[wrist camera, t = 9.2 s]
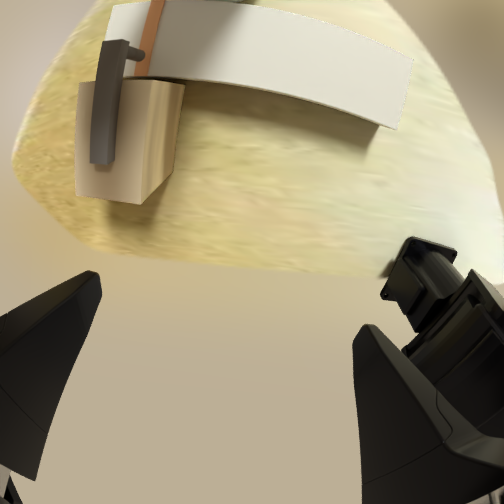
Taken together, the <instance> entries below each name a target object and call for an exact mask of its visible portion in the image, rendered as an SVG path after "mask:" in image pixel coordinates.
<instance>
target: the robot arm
mask: <svg viewBox="0 0 504 504" xmlns="http://www.w3.org/2000/svg"><path fill="white" fill-rule="evenodd" d="M412 242H413V244H411V243H412ZM456 256H457V251H456V250H455V249H454V248H450V247H447V246H444V245H441V244H437V243H434V242H431V241H427V240H424V239H421V238H417V237H413V236H412V237H410V238H409V239H408V240H407V242H406V244H405V246H404V248H403V250H402V252H401V254H400V256H399V259H398V261H397V262H396V264H395V266H394V268H393V270H392V272H391V274H390V276H389V278H388V280H387V282H386V283H385V285H384V287H383V289H382V291H381V293H380V296H381V298H382V299H383V300H388V301H397V303H398V305H399V307H400V309H401V311H402V313H403V314H404V315H406V316H407V318H408V320H409V322H410V324H411V326H412V328H413V330H414V332H415V333H419V334H418V335H417V336H416V337H415V338H414V339H413V340H412V341H411V342H410V343H409V344H408V345H406V346H404V347H403V348H402V349H401V351H400V350H399V349H398V348H397V347H396V346H395V345H394V344H393V343H392V342H391V341H390V340H389V339H388V338H387V337H386V336H385V335H384V334H383V333H382V331H380V329H378V327H377V326H375V325H370V324H364V325H363V326H362V327H361V329H360V331H359V332H358V334H357V335H356V337H355V338H354V340H353V344H352V349H353V378H354V390H355V398H356V407H357V417H358V427H359V439H360V454H361V474H362V504H504V298H503V297H502V296H501V294H500V293H499V292H498V291H497V290H496V288H495V287H494V286H493V285H492V284H491V283H489V282H488V281H487V280H486V279H484V278H483V277H482V276H481V275H480V274H478V273H477V272H476V271H474V270H473V269H471V270H470V272H469V273H468V276H467V278H466V279H464V278H463V277H462V275H461V274H460V273H459V272H458V271H457V269H456V268H455V267H454V266H453V265H452V264H453V262H454V260H455V258H456ZM385 294H386V295H385ZM101 297H102V288H101V283H100V276H99V274H98V273H97V272H93V271H90V270H88V271H85V272H83V273H81V274H79V275H77V276H75V277H73V278H71V279H69V280H67V281H65V282H63V283H61V284H59V285H57V286H56V287H53V288H51V289H50V290H48V291H46V292H44V293H42V294H40V295H38V296H36V297H35V298H33V299H31V300H29V301H27V302H25V303H24V304H22V305H20V306H18V307H16V308H15V309H13V310H11V311H9V312H8V314H7V313H6V314H4V315H2V316H0V504H23V503H22V501H21V499H20V497H19V495H18V493H17V491H16V488H15V486H14V484H13V482H12V479H11V476H10V472H11V470H12V471H14V472H16V473H18V474H20V475H22V476H24V477H26V478H28V479H31V480H33V481H35V480H36V477H37V472H38V468H39V464H40V460H41V456H42V453H43V449H44V446H45V442H46V439H47V436H48V432H49V429H50V426H51V423H52V420H53V417H54V414H55V411H56V408H57V406H58V403H59V400H60V398H61V395H62V393H63V390H64V387H65V385H66V382H67V380H68V377H69V375H70V373H71V370H72V368H73V365H74V363H75V361H76V359H77V357H78V354H79V352H80V350H81V348H82V346H83V344H84V341H85V339H86V337H87V335H88V332H89V329H90V327H91V324H92V321H93V319H94V316H95V313H96V310H97V308H98V305H99V303H100V300H101Z"/></svg>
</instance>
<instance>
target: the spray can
mask: <svg viewBox="0 0 504 504" xmlns="http://www.w3.org/2000/svg"><path fill="white" fill-rule="evenodd" d="M206 1H222V2H232V3H235V2H240V1H244V0H206Z"/></svg>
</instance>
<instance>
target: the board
mask: <svg viewBox="0 0 504 504" xmlns="http://www.w3.org/2000/svg"><path fill="white" fill-rule="evenodd" d="M117 39H124V40H126V41H129V42H130V44H129V46H131V47H134V48H137V49H140V50H143V51H144V52H145V58H144V59H143V60H142V61H140V62H136V61H132V60H128V59H126V63H125V69H124V74H123V78H165V79H182V80H194V81H204V82H213V83H221V84H228V85H235V86H241V87H247V88H253V89H258V90H263V91H268V92H273V93H277V94H282V95H286V96H290V97H294V98H298V99H302V100H306V101H309V102H313V103H316V104H320V105H323V106H327V107H330V108H333V109H336V110H339V111H342V112H345V113H348V114H351V115H354V116H357V117H360V118H362V119H365V120H368V121H370V122H373V123H375V124H378V125H381V126H384V127H387V128H391V129H394V130H397V129H398V125H399V122H400V118H401V114H402V110H403V106H404V102H405V98H406V94H407V90H408V86H409V81H410V77H411V72H412V67H413V62H414V59H412V58H410V57H408V56H406V55H404V54H402V53H401V52H399V51H397V50H395V49H393V48H391V47H388V46H386V45H384V44H382V43H380V42H378V41H375V40H373V39H371V38H368V37H366V36H364V35H361V34H359V33H356V32H353V31H351V30H348V29H345V28H343V27H340V26H337V25H334V24H331V23H328V22H325V21H321V20H318V19H315V18H311V17H307V16H304V15H300V14H296V13H292V12H287V11H283V10H278V9H273V8H268V7H262V6H256V5H249V4H241V3H232V2H222V1H206V0H151V1H147V2H136V3H128V4H121V5H114V6H113V10H112V13H111V17H110V20H109V24H108V28H107V32H106V36H105V41H108V40H117Z"/></svg>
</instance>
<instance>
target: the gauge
mask: <svg viewBox="0 0 504 504" xmlns="http://www.w3.org/2000/svg"><path fill="white" fill-rule="evenodd" d="M129 44H130V42H129V41H126V40H124V39H117V40H108V41H103V42H102V47H101V52H100V57H99V62H98V68H97V74H96V81H91V82H80V83H79V90H78V99H77V110H76V125H75V189H76V196H83V197H90V198H98V199H105V200H112V201H119V202H126V203H133V204H140V205H141V204H142V203H143V202H144V201H145V200H146V199H147V198H148V196H149V195H150V194H151V193H152V192H153V191H154V190H155V189H156V188H157V187H158V186H159V185H160V184H161V183H162V182H163V181H164V180H165V179H166V178H167V177H168V176H169V175H170V174H171V173H172V172H173V167H174V158H175V150H176V142H177V134H178V127H179V120H180V114H181V108H182V101H183V96H184V90H185V85H182V84H176V83H170V82H164V81H157V80H123V74H124V69H125V63H126V59H128V60H132V61H136V62H140V61H142V60H143V59H144V58H145V52H144V51H143V50H140V49H137V48H134V47H131V46H129Z"/></svg>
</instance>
